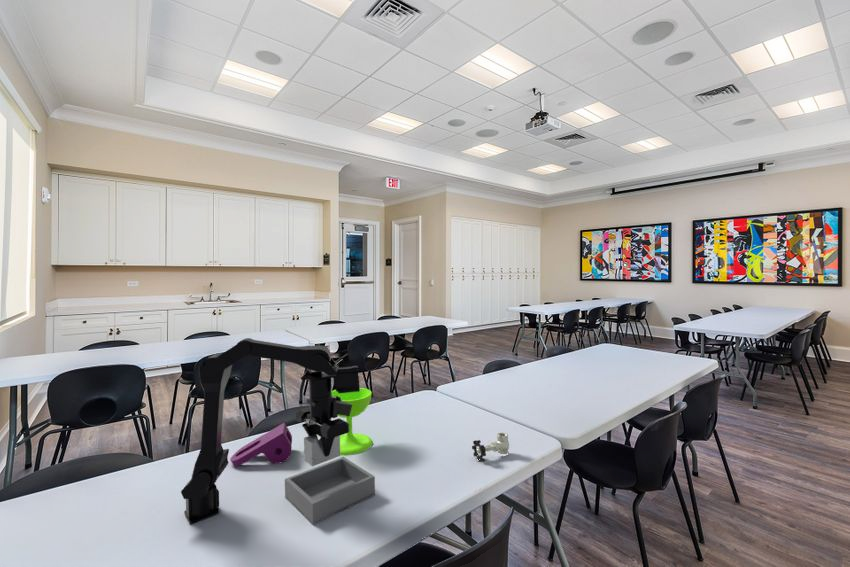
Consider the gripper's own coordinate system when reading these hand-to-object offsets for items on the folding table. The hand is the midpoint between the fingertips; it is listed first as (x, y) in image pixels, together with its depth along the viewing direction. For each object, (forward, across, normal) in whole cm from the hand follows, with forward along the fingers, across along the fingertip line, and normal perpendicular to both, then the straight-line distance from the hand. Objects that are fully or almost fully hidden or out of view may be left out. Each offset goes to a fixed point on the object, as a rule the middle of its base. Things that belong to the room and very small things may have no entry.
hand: (322, 453), depth 101 cm
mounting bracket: (+12, +35, +4) cm, 38 cm away
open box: (+12, 0, -2) cm, 12 cm away
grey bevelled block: (+1, 0, 0) cm, 1 cm away
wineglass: (+13, +24, -23) cm, 36 cm away
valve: (+13, -17, -51) cm, 55 cm away
